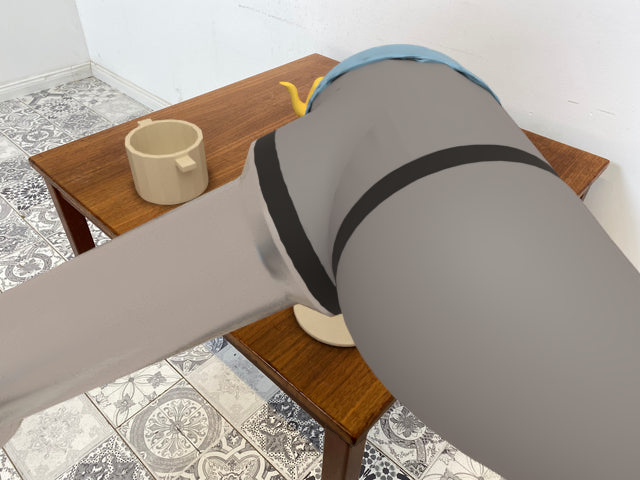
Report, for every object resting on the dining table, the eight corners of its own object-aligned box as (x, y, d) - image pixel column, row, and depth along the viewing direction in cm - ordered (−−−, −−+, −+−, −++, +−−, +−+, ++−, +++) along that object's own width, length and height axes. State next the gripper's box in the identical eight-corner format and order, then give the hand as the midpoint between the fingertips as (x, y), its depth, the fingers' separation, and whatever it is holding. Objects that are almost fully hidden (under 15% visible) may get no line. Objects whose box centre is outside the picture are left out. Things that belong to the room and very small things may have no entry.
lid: (334, 367, 63) (339, 317, 57) (274, 301, 71) (272, 250, 65) (411, 318, 70) (423, 267, 63) (348, 262, 78) (353, 212, 71)
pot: (161, 222, 83) (150, 174, 77) (119, 171, 94) (107, 125, 87) (228, 196, 89) (223, 149, 83) (182, 151, 100) (175, 107, 93)
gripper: (562, 481, 50) (364, 389, 57) (589, 311, 66) (434, 256, 73) (592, 444, 45) (371, 348, 52) (613, 270, 62) (444, 216, 69)
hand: (408, 294), depth 63 cm, fingers open, 13 cm apart
